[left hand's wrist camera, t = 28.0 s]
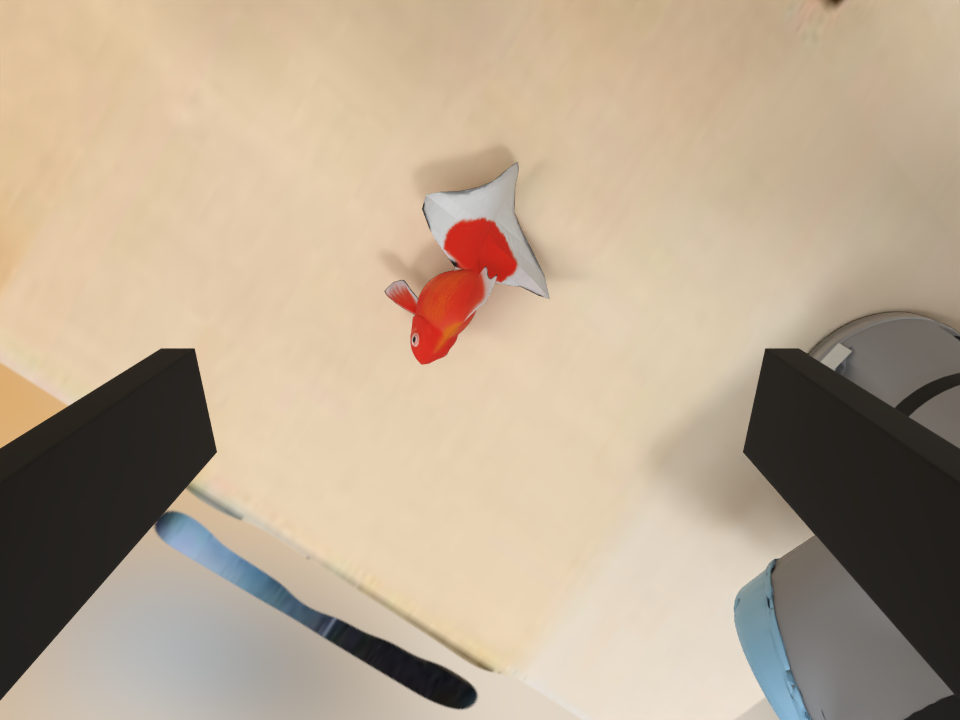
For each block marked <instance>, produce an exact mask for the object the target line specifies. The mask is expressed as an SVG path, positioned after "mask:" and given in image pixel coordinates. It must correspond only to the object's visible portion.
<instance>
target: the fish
mask: <svg viewBox="0 0 960 720" xmlns="http://www.w3.org/2000/svg"><path fill="white" fill-rule="evenodd" d="M518 171H519V167H518V162H517V163H515V164H513V165H512V166H511V167H510V168H508V169H507V170H506V171H505V172H503V173H502V174H501V175H500V176H499V177H497V178H496V179H495V180H494V181H492V182H490V183H487V184H485V185H483V186H480V187H477V188H473V189H468V190H463V191H452V192H438V193H432V194H427V195H426V198H425V201H424V204H423V208H422V210H423V212H424V215H425V218H426V220H427V223H428V226H429V228H430V230H431V232H432V234H433V236H434V238H435V240H436V241H437V243H438V244H439V246H440V247H441V248H442V250H443V251H444V253H445V254H446V255H447V257H448V258H449V259H450V261H451V262H452V263H453V265H454V266H455V270H454V271H449V272H445V273H442V274H439V275H437V276H436V277H434V278H433V279H431V280H430V281H429V282H428V283H427V284H426V285H425V287H424V288H423V290H422V292H421V293H420V296H419V298H417V296H416V295H415V294H414V293H413V292H412V290H411V289H410V288H409V286H408V285H407V283H406V282H405V281H404V280H399V281H396V282H393V283H392V284H391V285H390V286H389V287H388V288H387V289H386V290H385V293H386V295H387V296H388V297H389V298H390V299H391V300H393V301H394V302H395V303H396V304H398V305H399V306H401V307H402V308H404V309H406V310H407V311H409V312H411V313H412V314H414V315H415V316H414V317H413V323H412V331H411V349H412V351H413V354H414V356H415V357H416V359H417V360H418V361H419V362H420V364H429V363H431V362H433V361H435V360H437V359H440V358H442V357H444V356H446V355H447V353H448V352H449V350H450V348H451V347H452V346H453V345H454V343H455V342H456V340H457V336H458V334H459V333H460V332H462V331H463V330H464V329H465V328H466V327H467V325H468V324H469V323H470V321H471V320H472V318H473V316H474V314H475V312H476V310H477V309H478V308H479V307H480V306H482V305H483V304H484V303H485V302H486V300H487V299H488V297H489V295H490V293H491V291H492V288H493V286H494V283H498V284H505V285H510V286H520V287H523V288H525V289H527V290H529V291H531V292H533V293H535V294H537V295H539V296H542V297H545V298H549V294H548V289H547V285H546V280H545V276H544V274H543V272H542V270H541V268H540V266H539V264H538V262H537V260H536V258H535V255H534V253H533V251H532V249H531V247H530V245H529V244H528V242H527V240H526V238H525V236H524V234H523V232H522V230H521V228H520V225H519V223H518V220H517V218H516V215H515V213H514V202H515V185H516V181H517V176H518Z"/></svg>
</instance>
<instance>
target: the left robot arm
mask: <svg viewBox="0 0 960 720" xmlns="http://www.w3.org/2000/svg"><path fill="white" fill-rule="evenodd" d="M216 453H217V450H216V446H215V441H214V436H213V432H212V427H211V422H210V418H209V413H208V408H207V404H206V399H205V395H204V390H203V385H202V381H201V376H200V371H199V367H198V362H197V357H196V353H195V349H160V350H158V351H157V352H155V353H153V354H152V355H150V356H148V357H147V358H145V359H144V360H142V361H140V362H139V363H137V364H136V365H134V366H132V367H131V368H129V369H128V370H126V371H124V372H123V373H121V374H119V375H118V376H116V377H115V378H113V379H111V380H110V381H108V382H107V383H105V384H103V385H102V386H100V387H99V388H97V389H95V390H94V391H92V392H91V393H89V394H87V395H86V396H84V397H82V398H81V399H79V400H78V401H76V402H74V403H73V404H71V405H70V406H68V407H66V408H65V409H63V410H62V411H60V412H58V413H57V414H55V415H53V416H52V417H50V418H49V419H47V420H45V421H44V422H42V423H41V424H39V425H38V426H36V427H34V428H33V429H31V430H29V431H28V432H26V433H25V434H23V435H21V436H20V437H18V438H16V439H15V440H13V441H12V442H10V443H8V444H7V445H5V446H4V447H2V448H0V700H1V699H2V698H3V697H4V696H5V694H6V693H7V692H8V691H9V690H10V689H11V688H12V686H13V685H14V684H15V683H16V682H17V681H18V679H19V678H20V677H21V676H22V675H23V674H24V673H25V671H26V670H27V669H28V668H29V667H30V666H31V665H32V663H33V662H34V661H35V660H36V659H37V658H38V657H39V655H40V654H41V653H42V652H43V651H44V650H45V649H46V647H47V646H48V645H49V644H50V643H51V642H52V641H53V639H54V638H55V637H56V636H57V635H58V634H59V632H60V631H61V630H62V629H63V628H64V627H65V626H66V624H67V623H68V622H69V621H70V620H71V619H72V618H73V616H74V615H75V614H76V613H77V612H78V611H79V610H80V608H81V607H82V606H83V605H84V604H85V603H86V602H87V600H88V599H89V598H90V597H91V596H92V595H93V593H94V592H95V591H96V590H97V589H98V588H99V587H100V585H101V584H102V583H103V582H104V581H105V580H106V579H107V577H108V576H109V575H110V574H111V573H112V572H113V571H114V569H115V568H116V567H117V566H118V565H119V564H120V563H121V561H122V560H123V559H124V558H125V557H126V556H127V555H128V553H129V552H130V551H131V550H132V549H133V548H134V546H135V545H136V544H137V543H138V542H139V541H140V540H141V538H142V537H143V536H144V535H145V534H146V533H147V532H148V530H149V529H150V528H151V527H152V526H153V525H154V524H155V522H156V521H157V520H158V519H159V518H160V517H161V516H162V514H163V513H164V512H165V511H166V510H167V509H168V508H169V506H170V505H171V504H172V503H173V502H174V501H175V500H176V498H177V497H178V496H179V495H180V494H181V493H182V491H183V490H184V489H185V488H186V487H187V486H188V485H189V483H190V482H191V481H192V480H193V479H194V478H195V477H196V475H197V474H198V473H199V472H200V471H201V470H202V469H203V467H204V466H205V465H206V464H207V463H208V462H209V461H210V459H211V458H212V457H213V456H214V455H215V454H216ZM743 453H744V454H745V455H746V456H747V457H748V458H749V459H750V461H751V462H752V463H753V464H754V465H755V466H756V467H757V469H758V470H759V471H760V472H761V473H762V474H763V475H764V477H765V478H766V479H767V480H768V481H769V482H770V483H771V485H772V486H773V487H774V488H775V489H776V490H777V492H778V493H779V494H780V495H781V496H782V497H783V498H784V500H785V501H786V502H787V503H788V504H789V505H790V506H791V508H792V509H793V510H794V511H795V512H796V513H797V514H798V516H799V517H800V518H801V519H802V520H803V521H804V522H805V524H806V525H807V526H808V527H809V528H810V529H811V530H812V532H813V533H814V534H815V536H813V537H811V538H810V539H808V540H807V541H805V542H804V543H802V544H801V545H799V546H798V547H796V548H795V549H793V550H792V551H790V552H789V553H787V554H786V555H784V556H783V557H781V558H779V559H774V560H772V561H771V562H770V563H769V565H768V566H767V568H766V570H765V571H763V572H762V573H761V574H759V575H758V576H757V577H755V578H754V579H753V580H752V581H750V582H749V583H748V584H746V585H745V586H744V587H743V588H742V589H741V590H740V591H739V592H738V594H737V596H736V598H735V605H734V621H735V626H736V630H737V634H738V637H739V640H740V643H741V646H742V648H743V651H744V653H745V656H746V658H747V661H748V663H749V665H750V667H751V669H752V671H753V673H754V675H755V677H756V679H757V681H758V683H759V685H760V687H761V689H762V691H763V692H764V694H765V696H766V698H767V700H768V701H769V703H770V705H771V706H772V708H773V710H774V711H775V713H776V715H777V716H778V718H779V719H780V720H960V333H958V332H957V331H956V330H954V329H953V328H951V327H949V326H947V325H945V324H943V323H940V322H938V321H935V320H932V319H930V318H927V317H924V316H921V315H918V314H913V313H906V312H888V313H880V314H875V315H871V316H867V317H864V318H861V319H858V320H856V321H853V322H851V323H849V324H847V325H845V326H843V327H841V328H839V329H838V330H836V331H835V332H833V333H832V334H830V335H829V336H827V337H826V338H825V339H823V340H822V341H821V342H820V343H819V344H818V345H817V346H816V347H815V348H814V349H813V350H812V351H811V352H810V353H809V354H807V353H805V352H803V351H802V350H800V349H765V353H764V357H763V362H762V367H761V371H760V376H759V381H758V385H757V390H756V395H755V399H754V404H753V408H752V413H751V418H750V422H749V427H748V432H747V436H746V441H745V446H744V450H743Z"/></svg>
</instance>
